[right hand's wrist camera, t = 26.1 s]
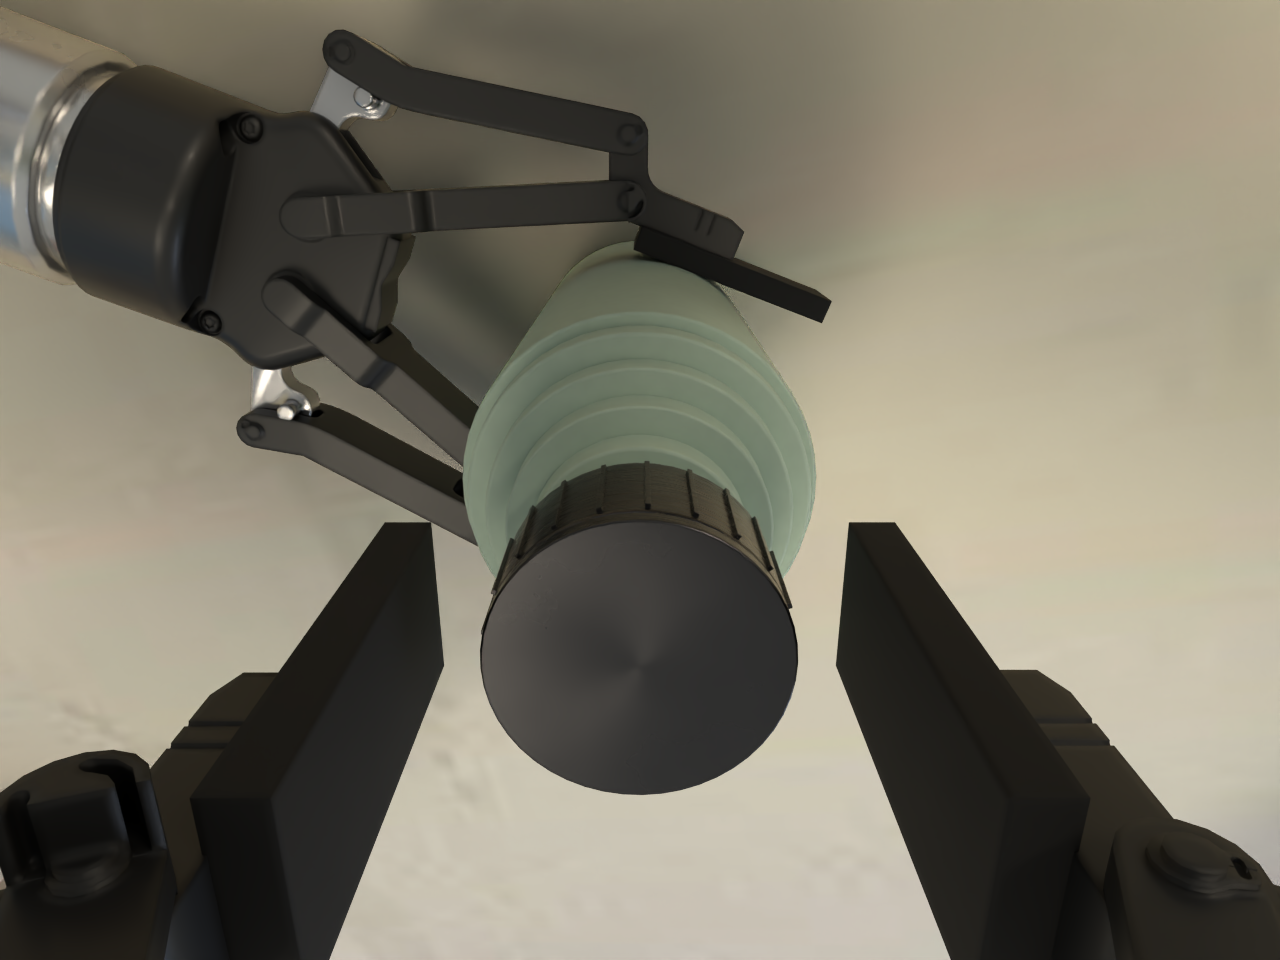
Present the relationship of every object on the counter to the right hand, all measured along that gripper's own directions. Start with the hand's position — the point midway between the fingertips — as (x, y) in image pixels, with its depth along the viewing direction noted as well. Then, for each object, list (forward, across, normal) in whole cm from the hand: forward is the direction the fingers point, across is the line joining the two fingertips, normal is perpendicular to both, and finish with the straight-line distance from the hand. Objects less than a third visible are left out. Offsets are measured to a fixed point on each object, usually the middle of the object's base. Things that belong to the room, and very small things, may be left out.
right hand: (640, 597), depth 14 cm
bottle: (+23, 0, 0) cm, 23 cm away
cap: (-2, 0, 0) cm, 2 cm away
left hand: (+16, -4, +2) cm, 17 cm away
